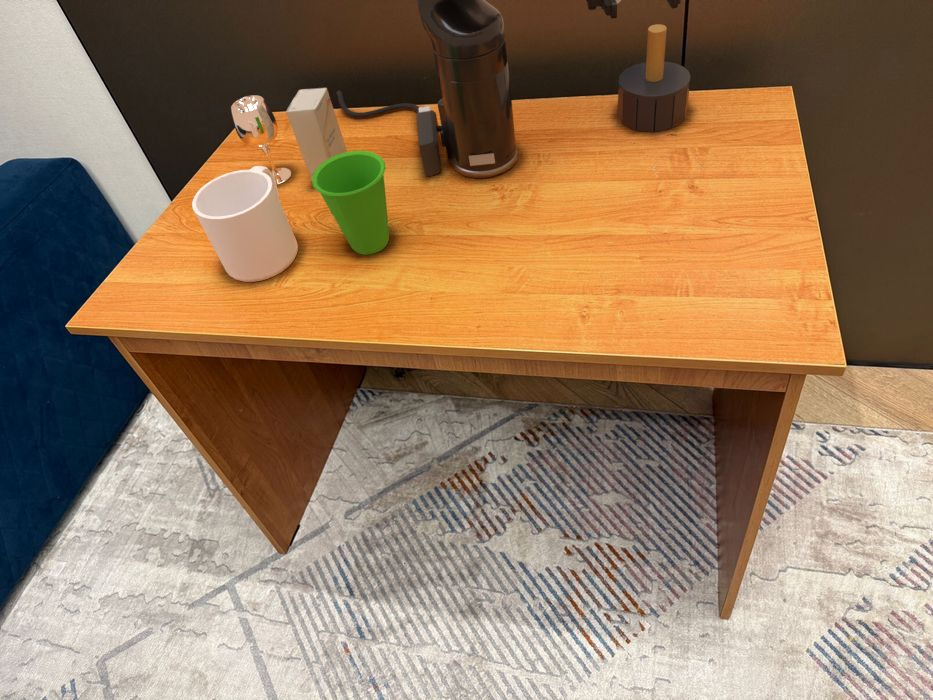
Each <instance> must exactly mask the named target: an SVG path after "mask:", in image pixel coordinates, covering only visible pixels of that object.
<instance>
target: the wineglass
mask: <svg viewBox="0 0 933 700" xmlns="http://www.w3.org/2000/svg"><path fill="white" fill-rule="evenodd" d="M230 111H231V117H232V123H233V126H234V129H235V131H236V134H237V136H238V137H239V139H240V140H241V142H242V143H243V144H245V145H246V146H248V147H250V148H257V149H258V148H261V149H262V153H263V155H264V156H265V157H266V158H267V160H268V162H269V165H270V167H271V170H270V172H271V173H272V175H273V177H274V179H275V182H276V185H277V186H278V185H281V184H284V183H286V182H287V181H288V180H289V179H290V178H291V176H292V171H291V169H290V168H287V167H276V166H275V165H274V161H273V159H272V154H271V150H270V148H269V147H270V146H269V145H270V144H272V143H273V142H274V141H275V140H276V138H277V136H278V132H279V126H278V122H277V119H276V117H275V115H274V113H273V111H272V109H271V108H270V106H269V105H268V103H267V101H266V100H265V99H264V97H262V96H260V95H257V94H256V95H254V94H253V95H247V96H244V97H240V98H239V99H237V100H236V101H234V102H233V103H232V105H231V106H230Z"/></svg>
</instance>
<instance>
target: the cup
mask: <svg viewBox="0 0 933 700" xmlns="http://www.w3.org/2000/svg"><path fill="white" fill-rule="evenodd" d="M386 168H387V167H386V162H385V160H384V159H383V157H381V156H379V154H377V153H375V152H372V151H369V150H352V151H347V152H345V153H342V154H338V155H336V156H334V157H331V158H329V159H328V160H326V161H324V162H323V163H322V164H321V165H320V166H318V168H317V169H316V170H315V172H314V174H313V177H312V180H311V184H312V187H313V189H315V191H317V192H318V193H319V194H320V196H321V197H322V199H323V200H324V202H325V204H326V205H327V208H328V210H329V211H330V213H331V215H332V216H333V218H334V220H335V221H336V224H337V225H338V227H339V228H340V230H341V233H342V234H343V235H344V237H345V239H346V241H347V243H348V244H349V246H350V248H351V249H352V250H353V251H354V252H356V254H358V255H366V256H368V255H374V254H377V253H379V252H380V251H382V250H384V249H385V248H386V247H387V245H388V244H389V240H390V228H389V217H388V206H387V195H386V185H385V172H386Z"/></svg>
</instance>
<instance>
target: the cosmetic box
mask: <svg viewBox="0 0 933 700" xmlns="http://www.w3.org/2000/svg"><path fill="white" fill-rule="evenodd" d="M332 103H333V102H332V100H331V97H330V94H329V89H328V88H327V87H318V88H316V87H315V88H303V89H299V90H298V91H297V93H296V94H295V96H294V97H293V99H292V101H291V102H290V104H289V105H288V107H287V109H286V111H285V113H286V116H287V118H288V121H289V123H290V126H291V129H292V132H293V134H294V138H295V140H296V143H297V145H298V148H299V151H300V154H301V156H302V159H303V161H304V164H305V167H306V170H307V172H308V175H309V178H310V180H311V181H312V177H313V174H314V172H315V170H316V169H317V168H318V166H320V165H321V164H322V163H323V162H324V161H326V160H328V159H329V158H331V157H334V156H336V155H338V154H342V153H345V152H348V149H347V147H346V144H345V140H344V137H343V134H342V131H341V127H340V124H339V121H338V119H337V115H336V112H335V109H334V106H333V104H332Z"/></svg>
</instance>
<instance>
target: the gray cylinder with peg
mask: <svg viewBox="0 0 933 700" xmlns="http://www.w3.org/2000/svg"><path fill="white" fill-rule="evenodd" d="M667 29H668V28H667V26H666V25H664V24H661V23H660V24H659V23H657V24H652V25H650V26H649V27H648V28H647V42H646V43H647V45H646V60H645V62H640V63H636V64H634V65H632V66H631V65H630V66H629V67H627V68H626V69H625V70H623V71H622V73H621V74H620V75H619V77H618V84H617V87H618V88H617V118H618V119H619V120H620V124H621V125H623V126H624V127H627V128H629V129H631V130H633V131H636V132H646V133H657V132H662V131H666V130H671V129H674V128H676V127H677V126H678V125H680V124H681V123H683V122H684V121H685V119H686V116H687V113H688V106H689V96H690V86H691V73H690V72H689V70H688V68H685V67H684V66H682V65H681V64H678V63H675V62H671V61H665V56H666V43H667V41H666V40H667Z"/></svg>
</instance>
